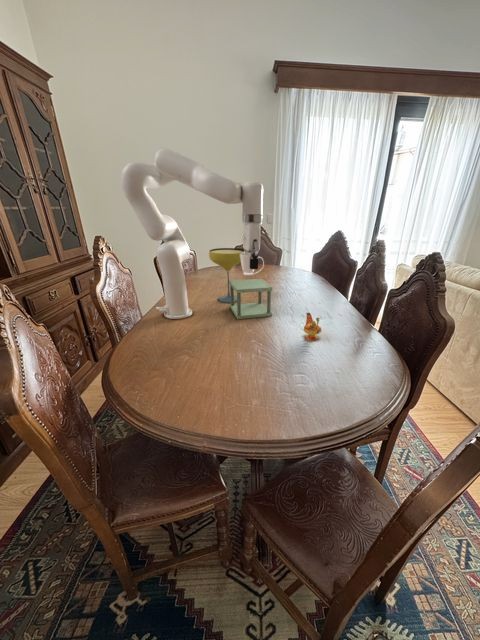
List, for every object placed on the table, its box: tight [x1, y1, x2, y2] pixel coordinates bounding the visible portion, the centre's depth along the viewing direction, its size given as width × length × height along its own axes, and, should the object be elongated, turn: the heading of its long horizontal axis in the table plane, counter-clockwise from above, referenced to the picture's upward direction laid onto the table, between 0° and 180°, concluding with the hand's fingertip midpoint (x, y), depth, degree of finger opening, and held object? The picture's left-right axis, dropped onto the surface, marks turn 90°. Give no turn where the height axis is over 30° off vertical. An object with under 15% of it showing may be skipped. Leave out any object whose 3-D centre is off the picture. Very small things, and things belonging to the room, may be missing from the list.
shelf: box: [229, 278, 273, 320], centre depth 134 cm, size 16×16×14 cm
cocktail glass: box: [208, 247, 246, 304], centre depth 147 cm, size 18×18×25 cm
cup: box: [240, 251, 265, 277], centre depth 117 cm, size 7×10×8 cm
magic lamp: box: [303, 312, 323, 342], centre depth 111 cm, size 7×18×11 cm, turn 3°
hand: (251, 266), depth 117 cm, fingers closed on cup, 6 cm apart
